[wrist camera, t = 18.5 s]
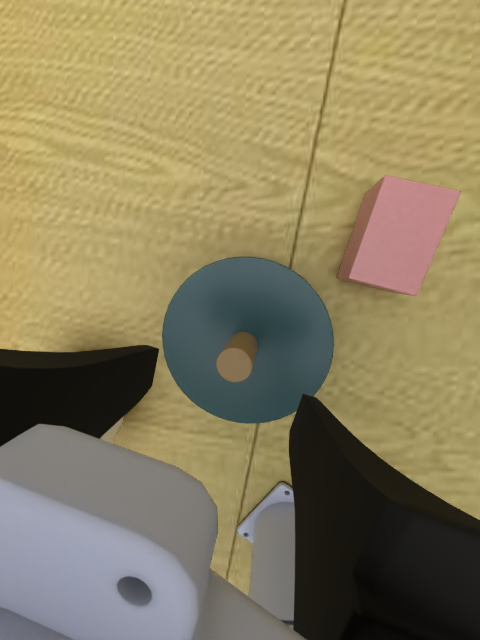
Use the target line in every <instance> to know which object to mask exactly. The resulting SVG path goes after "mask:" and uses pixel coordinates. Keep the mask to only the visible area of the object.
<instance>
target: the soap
mask: <svg viewBox="0 0 480 640" xmlns="http://www.w3.org/2000/svg"><path fill="white" fill-rule="evenodd" d="M460 193H461V191H457V190H452V189H448V188H443V187H438V186H434V185H429V184H424V183H420V182H415V181H410V180H406V179H401V178H396V177H392V176H387V175H385V176H384V177H383V178H382V179H381V180H380V181H378V182H377V183H376V184H375V185H374V186H373V187H372V188H371V189H370V190H369V191H368V192H366V194H365V196H364V199H363V202H362V205H361V208H360V211H359V214H358V217H357V220H356V223H355V225H354V228H353V231H352V234H351V237H350V240H349V243H348V246H347V249H346V252H345V254H344V257H343V260H342V263H341V266H340V269H339V272H338V275H337V278H339V279H343V280H347V281H351V282H355V283H359V284H362V285H366V286H370V287H374V288H378V289H382V290H386V291H389V292H394V293H400V294H407V295H413V296H417V294H418V291H419V289H420V287H421V284H422V282H423V280H424V277H425V275H426V273H427V270H428V268H429V266H430V263H431V261H432V259H433V256H434V254H435V252H436V249H437V247H438V245H439V242H440V240H441V238H442V235H443V233H444V231H445V228H446V226H447V224H448V221H449V219H450V217H451V214H452V212H453V209H454V207H455V205H456V202H457V200H458V198H459V195H460Z"/></svg>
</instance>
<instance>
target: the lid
mask: <svg viewBox="0 0 480 640" xmlns="http://www.w3.org/2000/svg"><path fill="white" fill-rule="evenodd" d="M162 339H163V350H164V355H165V359H166V362H167V365H168V368H169V370H170V372H171V375H172V376H173V378H174V380H175V382H176V383H177V385H178V386H179V387H180V389H181V390H182V391H183V392H184V394H185V395H186V396H187V397H188V398H189V399H190V400H191V401H193V402H194V403H195V404H196V405H198V406H199V407H200V408H202V409H204V410H205V411H207V412H209V413H211V414H213V415H215V416H217V417H220V418H222V419H225V420H229V421H233V422H239V423H264V422H270V421H273V420H277V419H280V418H283V417H285V416H288V415H290V414H291V413H293V412H295V411H297V409H298V406H299V403H300V400H301V397H302V395H303V394H305V395H309V396H312V397H313V396H314V395H315V394H316V392H317V391H318V390H319V389H320V387H321V385H322V384H323V382H324V380H325V378H326V376H327V374H328V371H329V369H330V365H331V361H332V357H333V347H334V342H333V330H332V325H331V321H330V318H329V315H328V312H327V310H326V308H325V306H324V304H323V302H322V300H321V299H320V297H319V296H318V294H317V293H316V292H315V290H314V289H313V288H312V287H311V286H310V285H309V284H308V283H307V281H305V280H304V279H303V278H302V277H300V276H299V275H298V274H297V273H295V272H294V271H292V270H290V269H289V268H287V267H285V266H283V265H281V264H278V263H276V262H273V261H270V260H266V259H262V258H255V257H234V258H227V259H224V260H220V261H216V262H214V263H212V264H209V265H207V266H205V267H203V268H202V269H200V270H198V271H197V272H195V273H194V274H193V275H192V276H190V277H189V278H188V279H187V280H186V281H185V282H184V283H183V284H182V285H181V286H180V288H179V289H178V290H177V292H176V293H175V295H174V296H173V298H172V300H171V302H170V304H169V306H168V309H167V312H166V315H165V319H164V324H163V334H162Z"/></svg>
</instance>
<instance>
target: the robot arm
mask: <svg viewBox="0 0 480 640" xmlns="http://www.w3.org/2000/svg"><path fill="white" fill-rule="evenodd" d="M158 352H159V349H158V348H155V347H151V346H148V345H138V346H129V347H121V348H113V349H103V350H93V351H80V352H36V351H18V350H6V349H0V640H480V520H478V519H476V518H475V517H473V516H471V515H469V514H467V513H465V512H463V511H462V510H460V509H458V508H456V507H454V506H452V505H451V504H449V503H447V502H445V501H444V500H442V499H440V498H439V497H437V496H436V495H434V494H432V493H431V492H429V491H427V490H426V489H424V488H422V487H421V486H419V485H418V484H416V483H415V482H413V481H412V480H410V479H409V478H407V477H406V476H404V475H403V474H402V473H400V472H399V471H397V470H396V469H394V468H393V467H392V466H390V465H389V464H387V463H386V462H385V461H383V460H382V459H381V458H380V457H378V456H377V455H376V454H375V453H373V452H372V451H371V450H370V449H369V448H367V447H366V446H365V445H364V444H363V443H361V442H360V441H359V440H358V439H357V438H356V437H355V436H354V435H353V434H352V433H351V432H350V431H349V430H348V429H347V428H346V427H344V426H343V425H342V423H341V422H340V421H339V420H338V419H337V418H336V417H335V416H334V415H333V414H332V413H331V412H330V411H329V410H328V409H327V408H326V407H325V406H324V405H323V404H322V403H321V402H320V401H319V400H318V399H317V398H315V397H312V396H309V395H305V394H303V395H302V397H301V400H300V403H299V406H298V409H297V412H296V414H295V417H294V420H293V423H292V426H291V429H290V435H289V457H290V468H291V477H292V487H293V488H291V487H290V486H288V485H287V484H285V483H279V484H278V485H277V486H276V487H275V488H274V489H273V490H272V491H271V492H270V494H269V495H268V496H267V497H266V498H265V499H264V500H263V501H262V502H261V503H260V504H259V505H258V506H257V507H256V508H255V509H254V510H253V511H252V512H251V513H250V514H249V515H248V517H247V518H246V519H245V520H244V521H243V522H242V523H241V524H240V525H239V526H238V533H239V534H240V535H241V536H243V537H244V538H245V539H247V540H248V541H249V542H251V543H252V544H253V548H252V559H251V570H250V581H249V592H248V596H247V595H245V594H244V593H243V592H241V591H240V590H239V589H237V588H236V587H235V586H233V585H232V584H231V583H229V582H228V581H227V580H225V579H224V578H223V577H221V576H220V575H218V574H217V573H216V572H214V571H213V570H212V569H210V564H211V560H212V555H213V551H214V547H215V542H216V538H217V534H218V514H217V506H216V504H215V503H214V501H213V500H212V498H211V496H210V495H209V493H208V492H207V490H206V489H205V487H204V485H203V484H202V483H201V482H200V481H199V480H197V479H196V478H194V477H193V476H191V475H189V474H188V473H186V472H185V471H183V470H181V469H180V468H178V467H176V466H173V465H170V464H168V463H165V462H162V461H159V460H157V459H154V458H151V457H148V456H146V455H143V454H140V453H137V452H134V451H132V450H129V449H126V448H123V447H121V446H118V445H115V444H112V443H109V442H107V441H104V440H101V439H100V438H101V437H102V436H103V435H104V434H105V433H106V432H107V431H108V430H109V429H110V428H111V427H113V426H114V425H115V424H116V423H117V422H118V421H119V420H120V419H121V418H122V417H123V416H124V415H126V414H127V413H128V412H129V411H130V410H131V409H132V408H133V407H134V406H135V405H136V404H137V403H138V402H139V401H140V400H141V399H142V398H143V397H144V395H145V394H146V393H147V392H148V390H149V389H150V388H151V386H152V383H153V378H154V373H155V368H156V362H157V357H158ZM286 491H289V492H286Z"/></svg>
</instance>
